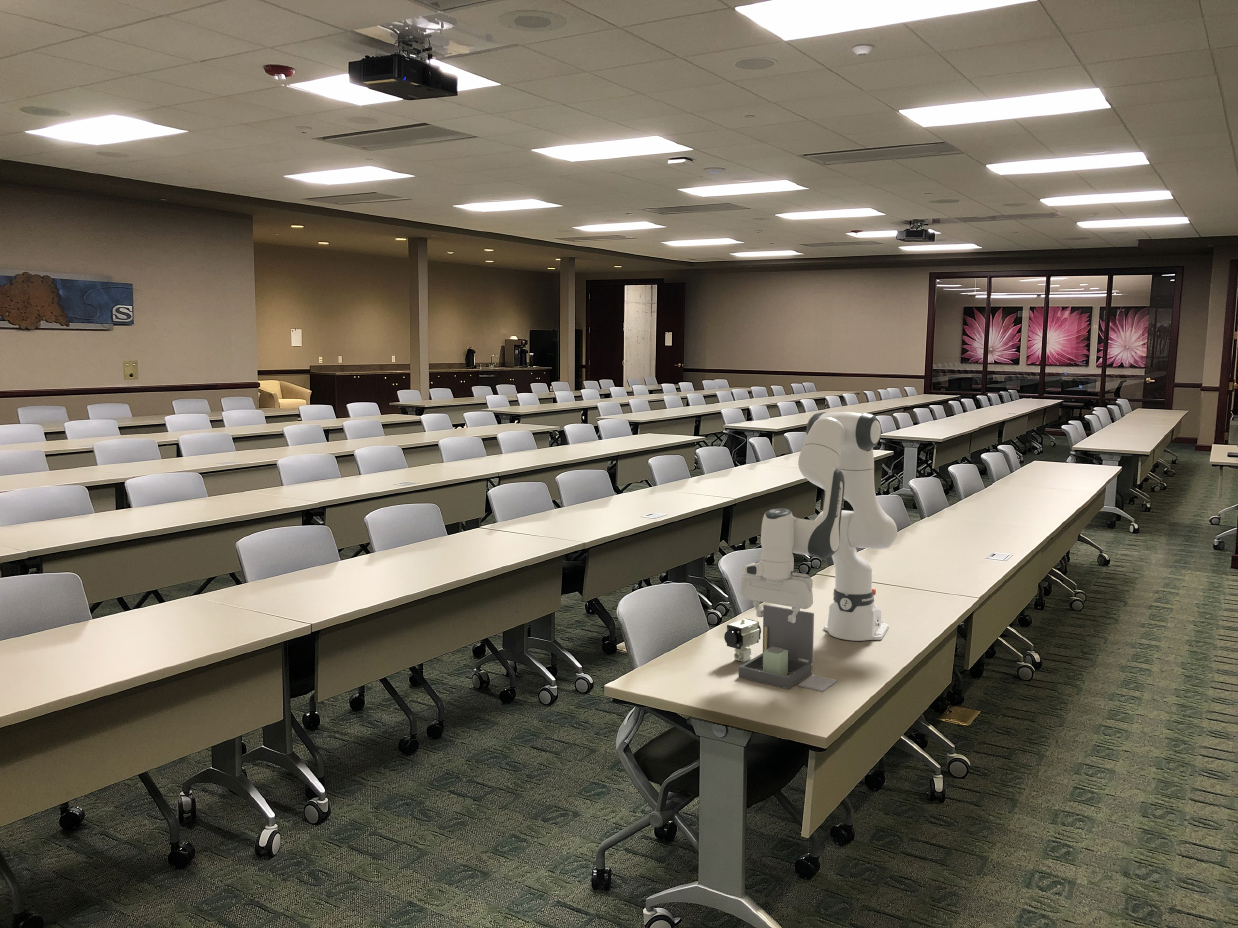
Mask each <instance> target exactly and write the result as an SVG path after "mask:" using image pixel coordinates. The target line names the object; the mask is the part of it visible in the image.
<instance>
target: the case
mask: <svg viewBox="0 0 1238 928" xmlns="http://www.w3.org/2000/svg"><path fill="white" fill-rule="evenodd" d="M762 605H763V606H762V608H763V609H762V610H764V616H763V617H762V652H761V653H760V654H759V655H757V656H755V657H753V658H751V659H750V660H748V661H746V662H743V664H741V665H739V666H738V678H740V679H743V680H749V681H752V682H758V683H762V684H765V685H770V686H773V687H777V688H783V689H787V690H790V689H791V688H793V687H794V686H796V685H797V684H800V683H801V682H803V681H804V680H806V679H807V678H809V677H810V676H812V675H813V673H812V671H813V668H812V667H813V663H814V637H815V634H814V633H815V632H814V630H815V629H814V627H815V612H810V611H805V610H804V611H803V610H800V611H799V612H798V614H797V615H796V621H795V623H789V622H788V616H790V615H792V614H793V612H794V611H792V608H787V607H782V606H776V605H770V604H769V605H768V604H762ZM771 647H778V648H783V649H784V650H788V671H791V672H792V673H790V674H788V675H787V676H784V675H780V674H775V673H771V672H766V671H763V669H762V670H761V669H760V668H761V667H763V652H764V651H765V650H767V649H769V648H771Z"/></svg>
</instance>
